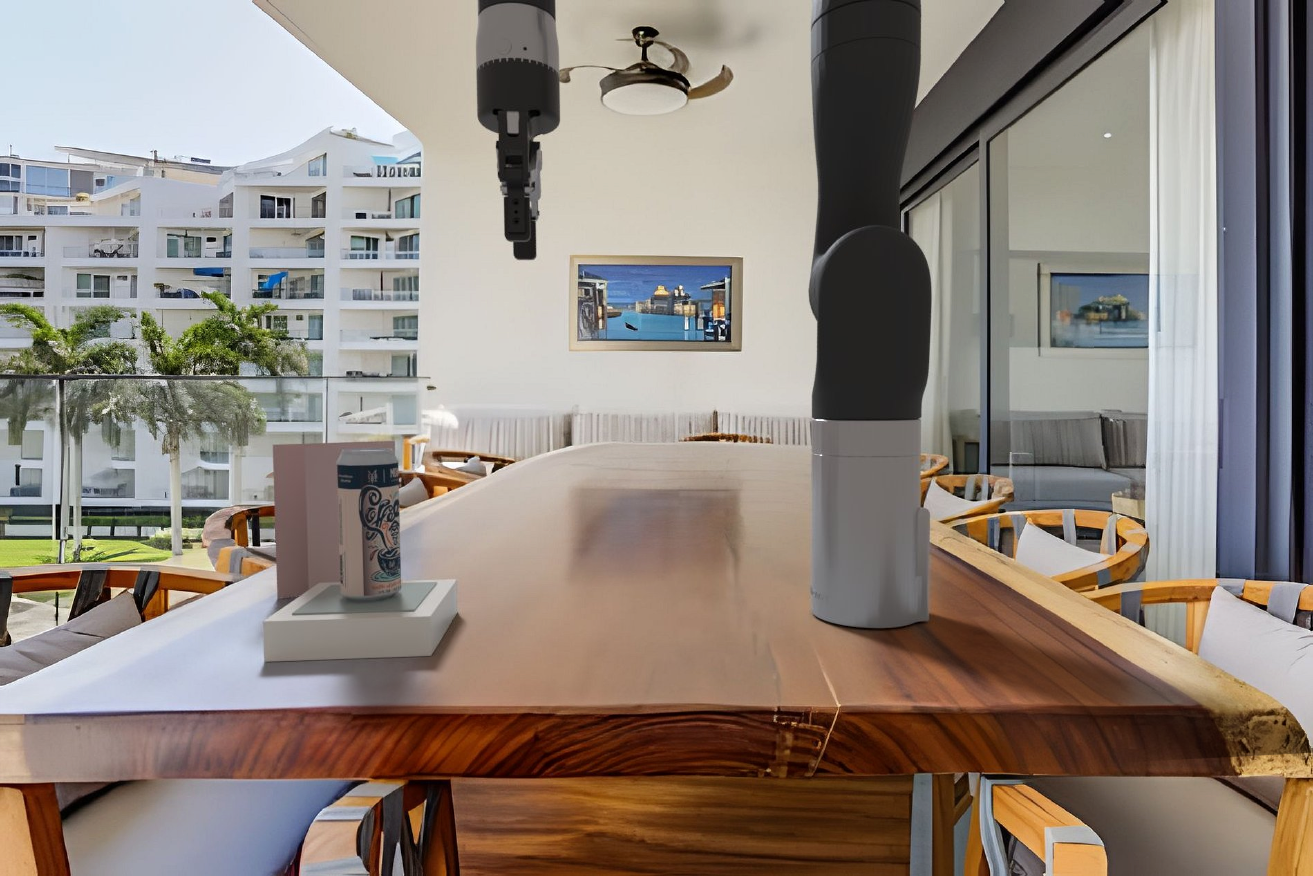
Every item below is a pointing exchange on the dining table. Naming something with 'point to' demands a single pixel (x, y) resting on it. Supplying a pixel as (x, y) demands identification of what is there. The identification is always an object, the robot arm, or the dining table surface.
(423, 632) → the picture frame
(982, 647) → the dining table surface
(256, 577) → the dining table surface
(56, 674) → the dining table surface
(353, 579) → the beer can
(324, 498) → the greeting card
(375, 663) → the dining table surface
